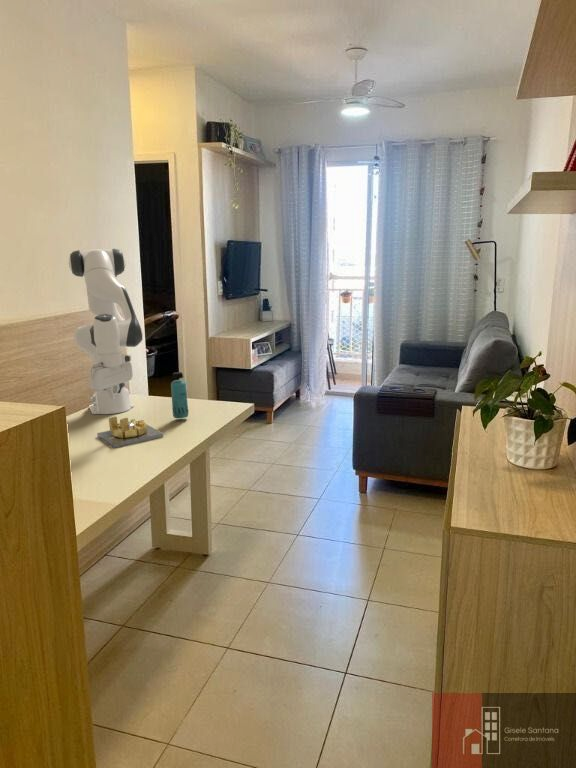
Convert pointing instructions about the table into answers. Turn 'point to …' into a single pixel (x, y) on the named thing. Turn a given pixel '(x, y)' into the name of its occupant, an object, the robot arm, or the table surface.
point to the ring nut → (126, 427)
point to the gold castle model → (120, 442)
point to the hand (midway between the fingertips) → (113, 397)
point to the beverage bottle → (179, 397)
